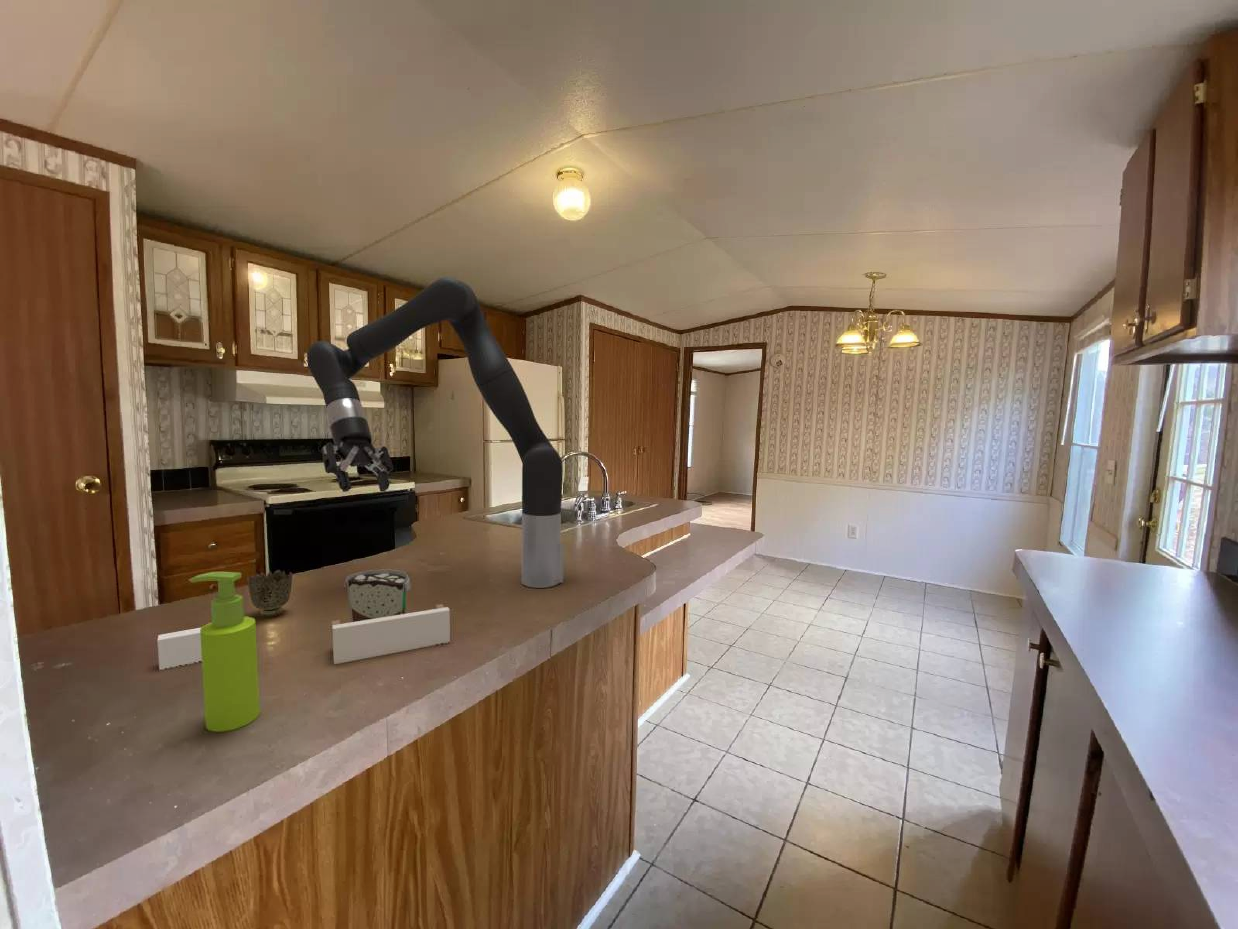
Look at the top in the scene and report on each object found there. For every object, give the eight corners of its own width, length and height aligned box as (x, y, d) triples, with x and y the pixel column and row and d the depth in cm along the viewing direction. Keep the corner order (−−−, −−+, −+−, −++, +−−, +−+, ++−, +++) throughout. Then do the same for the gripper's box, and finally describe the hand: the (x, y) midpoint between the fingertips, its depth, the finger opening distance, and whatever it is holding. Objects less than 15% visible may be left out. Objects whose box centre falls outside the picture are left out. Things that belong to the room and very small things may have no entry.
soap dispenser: (216, 707, 74) (208, 566, 72) (268, 706, 75) (262, 567, 73) (186, 732, 68) (176, 581, 66) (243, 731, 69) (235, 581, 67)
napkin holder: (131, 678, 82) (128, 642, 81) (192, 645, 93) (190, 613, 93) (227, 682, 82) (225, 646, 81) (276, 649, 93) (275, 617, 92)
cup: (302, 612, 108) (300, 573, 107) (264, 625, 101) (263, 584, 100) (278, 605, 111) (276, 567, 110) (240, 617, 104) (238, 577, 103)
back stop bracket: (442, 629, 101) (442, 598, 101) (449, 642, 96) (449, 610, 96) (332, 649, 92) (331, 615, 92) (334, 664, 87) (332, 629, 86)
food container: (423, 619, 106) (422, 570, 105) (407, 632, 100) (406, 580, 99) (363, 615, 107) (362, 566, 106) (345, 628, 101) (343, 576, 100)
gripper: (325, 411, 110) (343, 482, 106) (387, 418, 122) (406, 482, 118) (307, 429, 114) (324, 498, 109) (369, 434, 126) (386, 497, 122)
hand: (366, 490), depth 114 cm, fingers open, 8 cm apart
